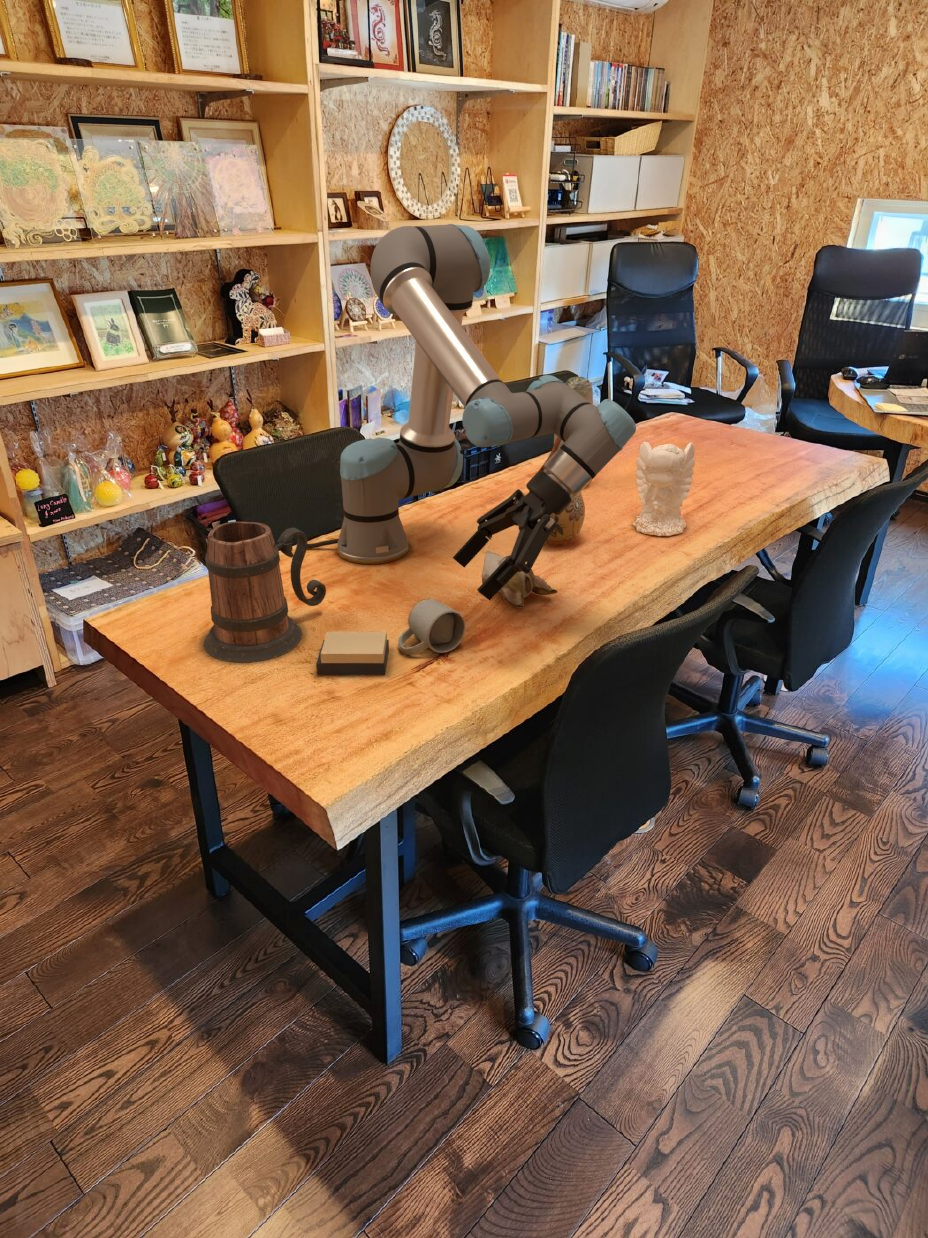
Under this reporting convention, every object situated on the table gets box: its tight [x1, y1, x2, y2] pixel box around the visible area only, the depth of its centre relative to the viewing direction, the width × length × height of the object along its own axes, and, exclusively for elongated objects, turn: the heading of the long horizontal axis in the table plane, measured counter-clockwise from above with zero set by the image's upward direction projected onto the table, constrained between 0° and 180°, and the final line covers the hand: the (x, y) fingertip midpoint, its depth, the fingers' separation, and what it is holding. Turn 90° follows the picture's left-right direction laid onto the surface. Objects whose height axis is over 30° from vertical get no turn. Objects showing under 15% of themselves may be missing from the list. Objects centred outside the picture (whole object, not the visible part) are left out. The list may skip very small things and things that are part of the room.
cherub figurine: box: [632, 441, 696, 537], centre depth 187 cm, size 13×12×20 cm
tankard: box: [203, 521, 327, 664], centre depth 142 cm, size 24×17×20 cm
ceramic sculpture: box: [481, 550, 559, 609], centre depth 157 cm, size 11×9×15 cm
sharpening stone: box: [315, 631, 390, 676], centre depth 136 cm, size 11×8×4 cm
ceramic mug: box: [397, 598, 466, 656], centre depth 140 cm, size 11×8×8 cm
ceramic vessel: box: [538, 437, 586, 547], centre depth 177 cm, size 16×9×25 cm, turn 132°
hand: (470, 578), depth 138 cm, fingers open, 13 cm apart
